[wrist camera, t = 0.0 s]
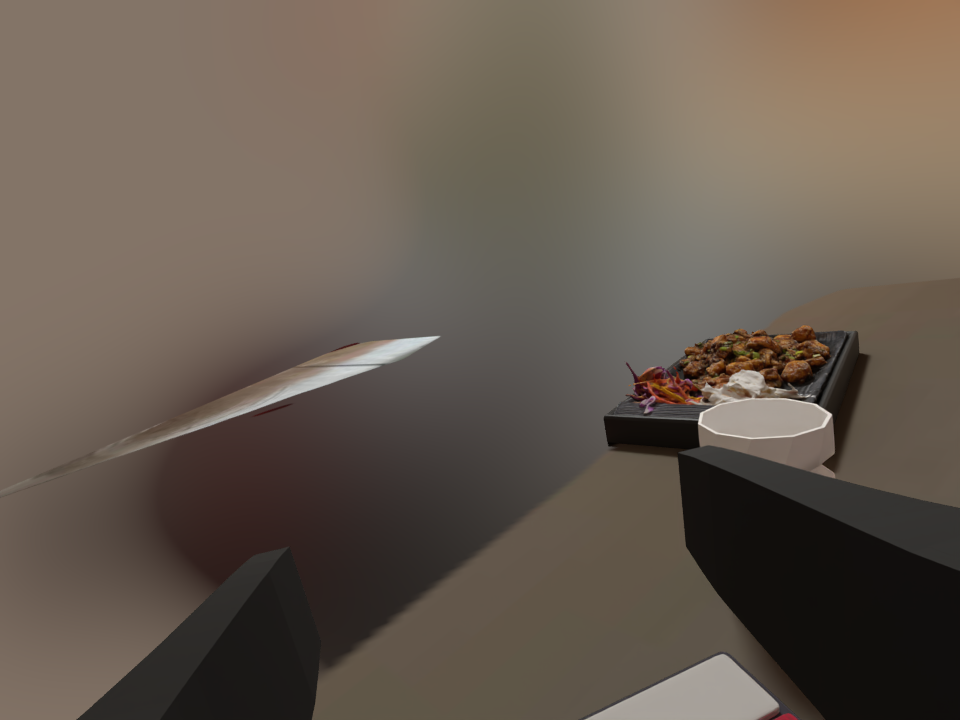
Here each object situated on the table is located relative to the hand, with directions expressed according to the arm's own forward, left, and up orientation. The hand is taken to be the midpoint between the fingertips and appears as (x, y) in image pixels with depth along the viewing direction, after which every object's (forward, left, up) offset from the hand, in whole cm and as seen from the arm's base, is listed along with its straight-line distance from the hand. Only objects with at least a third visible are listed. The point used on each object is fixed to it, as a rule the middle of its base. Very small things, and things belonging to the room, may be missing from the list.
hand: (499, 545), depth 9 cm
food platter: (+62, -45, -23) cm, 80 cm away
